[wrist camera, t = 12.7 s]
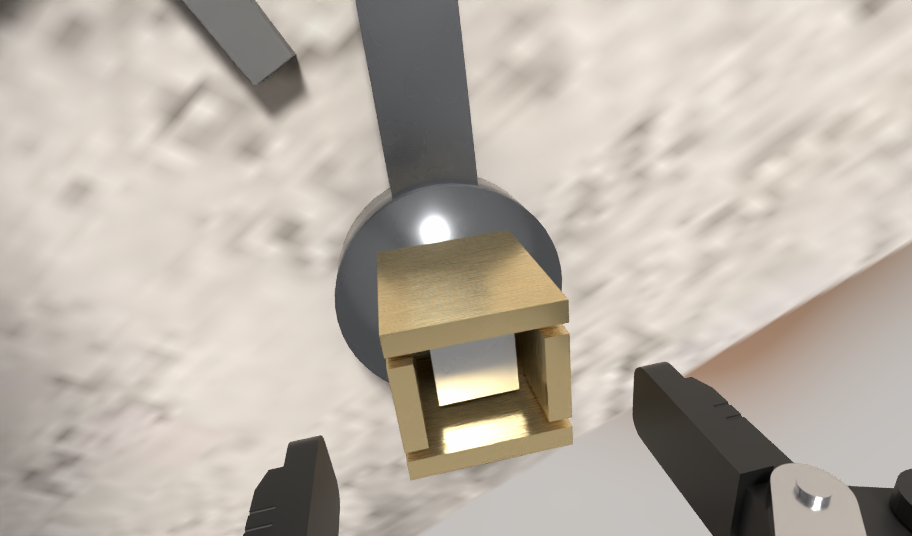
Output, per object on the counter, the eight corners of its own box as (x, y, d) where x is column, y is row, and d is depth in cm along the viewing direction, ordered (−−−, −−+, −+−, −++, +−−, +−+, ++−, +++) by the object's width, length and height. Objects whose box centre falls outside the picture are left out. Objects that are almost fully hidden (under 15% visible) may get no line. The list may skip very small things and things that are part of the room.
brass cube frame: (399, 364, 19) (410, 480, 14) (376, 252, 17) (379, 335, 12) (517, 341, 20) (572, 443, 15) (508, 229, 18) (568, 299, 13)
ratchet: (362, 378, 22) (359, 501, 16) (199, -276, 13) (41, -592, 7) (546, 340, 23) (612, 443, 17) (509, -295, 14) (620, -591, 8)
